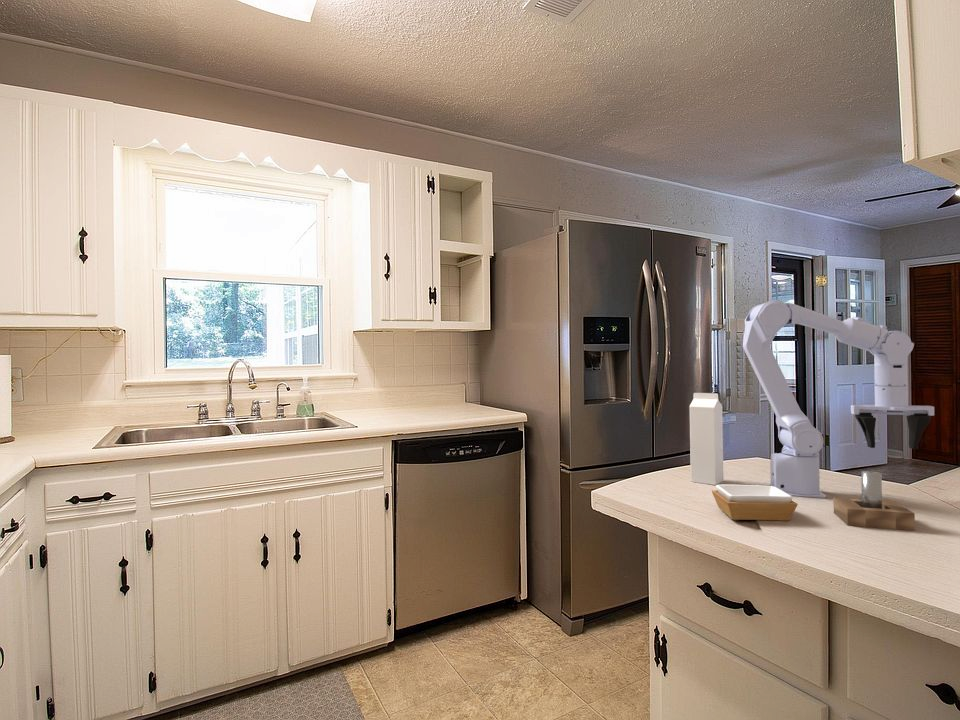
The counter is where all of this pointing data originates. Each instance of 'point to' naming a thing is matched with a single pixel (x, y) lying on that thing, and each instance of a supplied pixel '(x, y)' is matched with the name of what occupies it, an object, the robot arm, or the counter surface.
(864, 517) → the block
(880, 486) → the peg
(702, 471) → the milk
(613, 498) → the counter surface
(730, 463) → the counter surface
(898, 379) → the robot arm
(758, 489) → the soap dish
